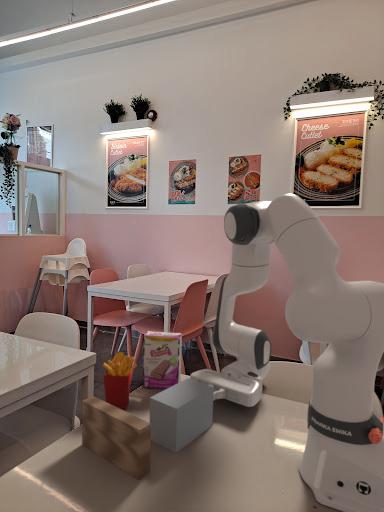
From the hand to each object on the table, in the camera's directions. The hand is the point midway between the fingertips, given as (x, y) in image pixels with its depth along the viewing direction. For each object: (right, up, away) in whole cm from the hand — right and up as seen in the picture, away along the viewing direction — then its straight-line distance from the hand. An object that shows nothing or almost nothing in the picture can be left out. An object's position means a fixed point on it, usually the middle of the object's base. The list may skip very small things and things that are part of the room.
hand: (207, 396), depth 94 cm
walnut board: (-20, -6, -18) cm, 28 cm away
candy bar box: (-13, -4, +17) cm, 22 cm away
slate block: (-7, -6, -8) cm, 12 cm away
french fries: (-23, -4, +4) cm, 24 cm away
